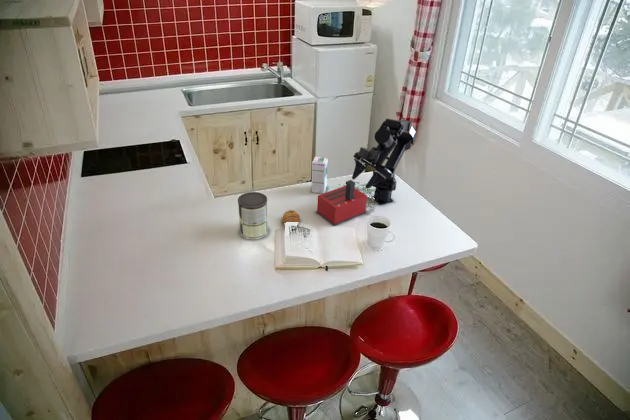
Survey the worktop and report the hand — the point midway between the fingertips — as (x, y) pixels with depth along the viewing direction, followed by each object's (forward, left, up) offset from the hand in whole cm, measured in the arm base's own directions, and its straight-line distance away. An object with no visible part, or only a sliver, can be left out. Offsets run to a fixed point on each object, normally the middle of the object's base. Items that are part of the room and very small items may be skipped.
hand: (359, 183), depth 170 cm
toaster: (+6, -2, -13) cm, 14 cm away
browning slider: (+5, +1, -4) cm, 7 cm away
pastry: (+27, -4, -13) cm, 30 cm away
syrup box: (+5, -22, -13) cm, 26 cm away
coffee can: (+42, -5, -13) cm, 44 cm away
